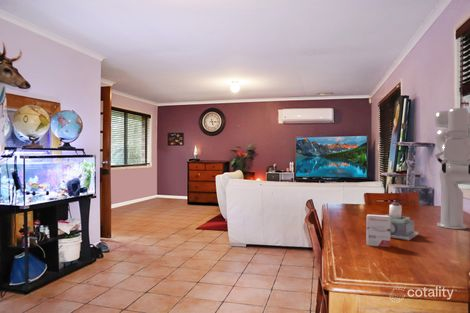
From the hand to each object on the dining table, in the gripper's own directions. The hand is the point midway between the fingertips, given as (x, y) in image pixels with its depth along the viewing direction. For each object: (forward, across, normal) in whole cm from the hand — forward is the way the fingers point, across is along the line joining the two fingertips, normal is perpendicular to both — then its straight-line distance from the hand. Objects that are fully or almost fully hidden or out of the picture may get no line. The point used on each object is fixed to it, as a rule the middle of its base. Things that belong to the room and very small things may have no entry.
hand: (456, 173), depth 151 cm
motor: (+28, -21, -18) cm, 40 cm away
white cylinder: (+22, -21, -18) cm, 35 cm away
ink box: (+28, -20, -43) cm, 55 cm away
